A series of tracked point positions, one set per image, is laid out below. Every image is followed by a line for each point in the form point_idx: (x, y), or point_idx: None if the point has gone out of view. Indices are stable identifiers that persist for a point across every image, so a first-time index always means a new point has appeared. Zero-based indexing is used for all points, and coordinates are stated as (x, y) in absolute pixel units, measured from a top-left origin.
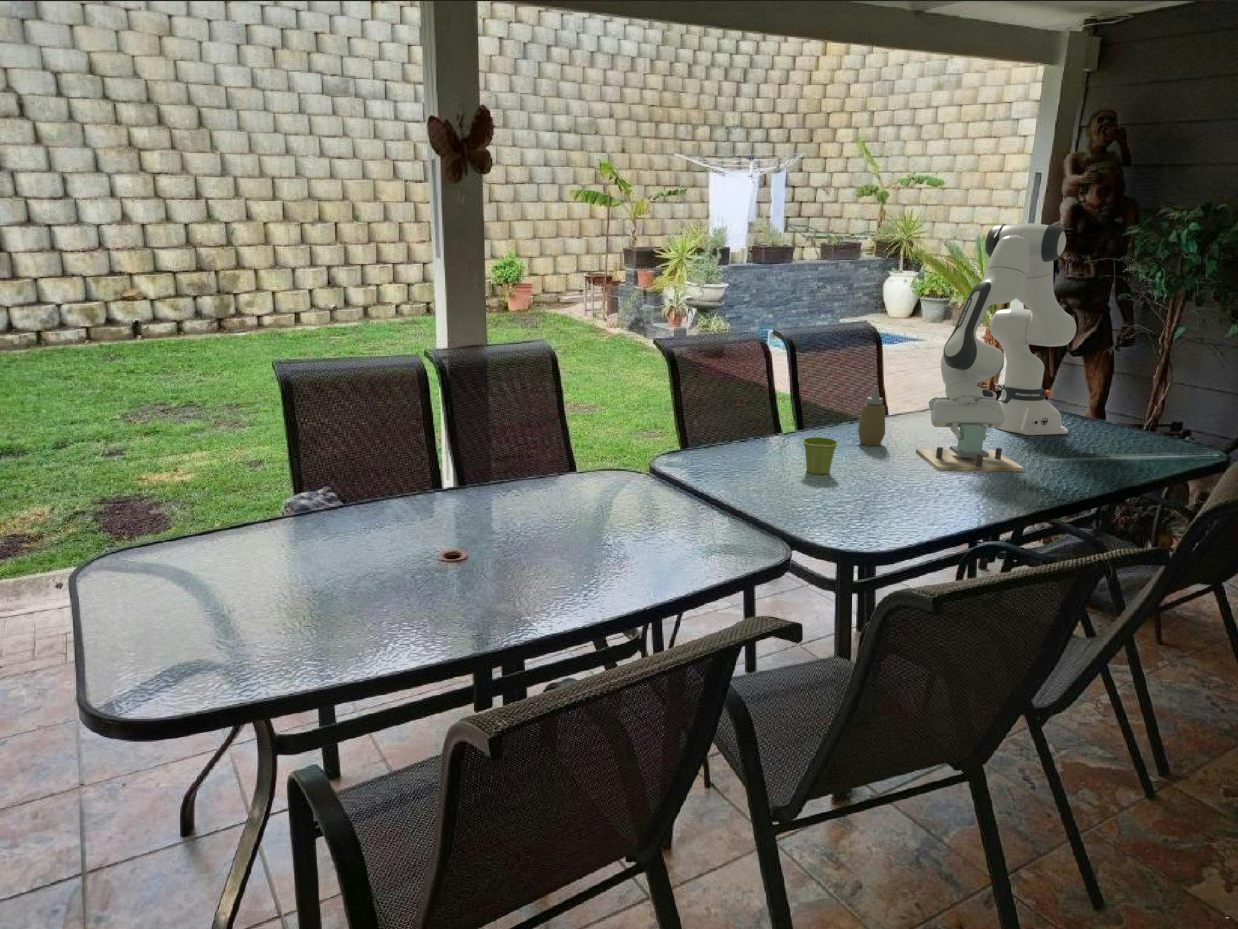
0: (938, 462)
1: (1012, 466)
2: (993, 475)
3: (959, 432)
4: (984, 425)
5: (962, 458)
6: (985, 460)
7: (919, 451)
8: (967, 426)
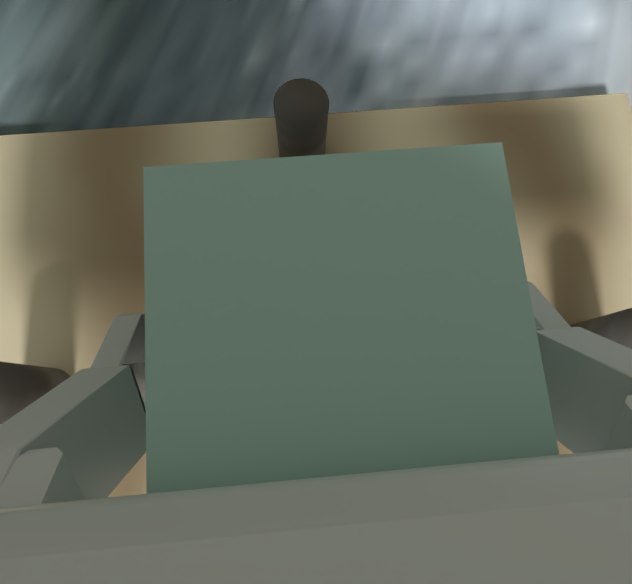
0: (606, 202)
1: (31, 165)
2: (243, 39)
3: (544, 318)
4: (24, 476)
5: None
6: None
7: None
8: (461, 293)
